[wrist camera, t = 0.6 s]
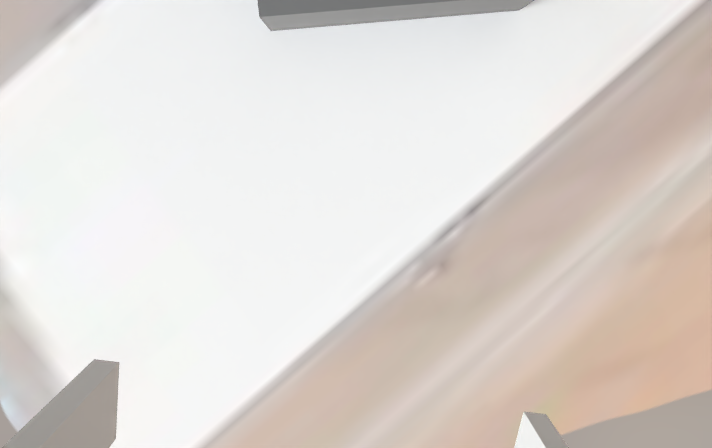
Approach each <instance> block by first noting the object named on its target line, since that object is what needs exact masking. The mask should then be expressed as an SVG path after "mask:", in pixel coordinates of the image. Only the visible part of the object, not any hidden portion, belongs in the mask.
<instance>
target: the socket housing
mask: <svg viewBox="0 0 712 448" xmlns="http://www.w3.org/2000/svg"><path fill="white" fill-rule="evenodd" d="M532 1H534V0H258V8H259V16H260V18H261V19H262V21H263V22H264V23H265V24H266V26H267V27H268V28H269V29H270V31H276V30H288V29H300V28H312V27H324V26H336V25H348V24H360V23H372V22H384V21H396V20H408V19H420V18H432V17H444V16H456V15H468V14H480V13H492V12H504V11H516V10H520V9H522V8H523V7H525V6H526V5H528V4H529V3H531V2H532Z"/></svg>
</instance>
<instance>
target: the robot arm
mask: <svg viewBox="0 0 712 448" xmlns="http://www.w3.org/2000/svg"><path fill="white" fill-rule="evenodd" d="M118 378H119V362H112V361H104V360H96V359H94V360H93V361H92V362H91V363H90V364H89V365H88V366H87V367H86V368H85V369H84V370H83V371H82V372H81V373H79V374H78V375H77V376H76V377H75V378H74V379H73V380H72V381H71V382H70V383H69V384H68V385H67V386H66V387H65V388H64V389H63V390H62V391H61V392H60V393H59V394H57V395H56V396H55V397H54V398H53V399H52V400H51V401H50V402H49V403H48V404H47V405H46V406H45V407H44V408H43V409H42V410H41V411H40V412H39V413H38V414H37V415H36V416H34V417H33V418H32V419H31V420H30V421H29V422H28V423H27V424H26V425H25V426H24V427H23V428H22V429H21V430H20V431H19V432H18V433H17V434H16V435H15V436H14V437H12V438H11V439H10V440H9V441H8V443H6V444H5V445H4V446H3V447H2V448H109V447H110V446H111V444H112V443H113V442H114V440H115V439H116V422H117V400H118ZM514 448H569V447H568V446H567V444H566V443H565V441H564V440H563V438H562V437H561V435H560V434H559V432H558V431H557V430H556V428H555V427H554V425H553V424H552V422H551V421H550V419H549V418H548V416H547V415H546V414H539V413H531V412H523V416H522V420H521V424H520V428H519V432H518V436H517V439H516V443H515V447H514Z"/></svg>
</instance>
